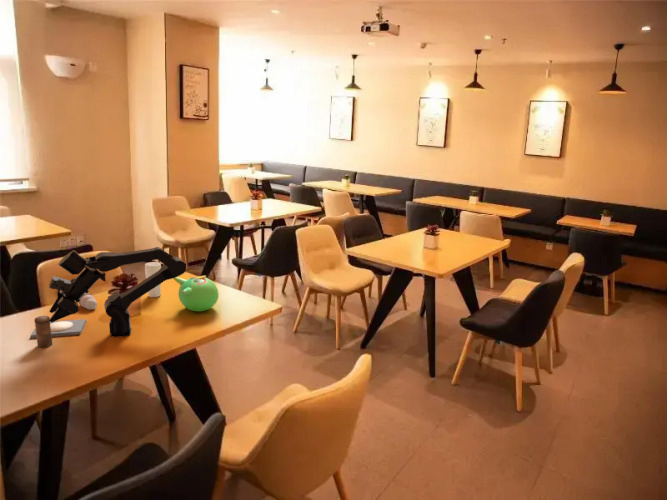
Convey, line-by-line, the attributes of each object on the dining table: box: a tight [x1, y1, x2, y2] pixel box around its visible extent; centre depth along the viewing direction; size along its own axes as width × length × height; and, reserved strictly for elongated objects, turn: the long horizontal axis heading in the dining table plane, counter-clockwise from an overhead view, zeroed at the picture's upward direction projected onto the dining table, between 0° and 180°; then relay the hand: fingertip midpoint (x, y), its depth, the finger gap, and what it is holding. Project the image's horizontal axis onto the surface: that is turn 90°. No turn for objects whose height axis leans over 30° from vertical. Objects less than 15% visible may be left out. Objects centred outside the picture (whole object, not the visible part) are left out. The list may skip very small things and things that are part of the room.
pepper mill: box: [34, 315, 53, 349], centre depth 169 cm, size 4×4×10 cm
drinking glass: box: [144, 261, 162, 298], centre depth 220 cm, size 7×7×15 cm
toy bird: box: [172, 275, 219, 312], centre depth 206 cm, size 18×17×15 cm
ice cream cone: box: [78, 292, 98, 311], centre depth 206 cm, size 6×6×15 cm
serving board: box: [30, 318, 87, 339], centre depth 183 cm, size 16×12×2 cm
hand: (50, 316), depth 169 cm, fingers open, 9 cm apart
